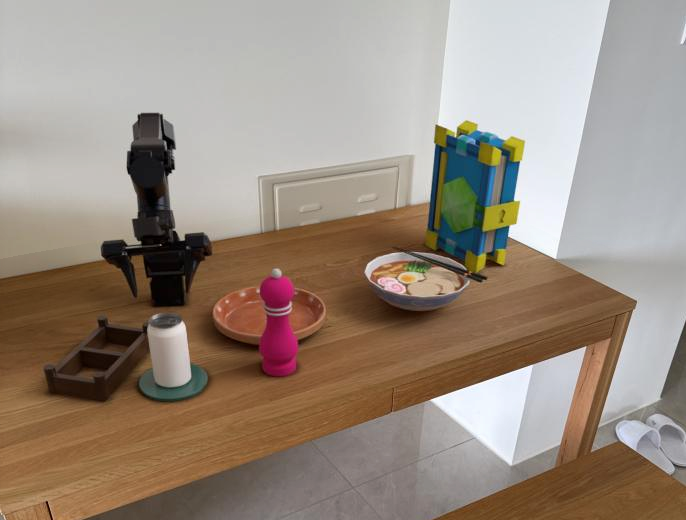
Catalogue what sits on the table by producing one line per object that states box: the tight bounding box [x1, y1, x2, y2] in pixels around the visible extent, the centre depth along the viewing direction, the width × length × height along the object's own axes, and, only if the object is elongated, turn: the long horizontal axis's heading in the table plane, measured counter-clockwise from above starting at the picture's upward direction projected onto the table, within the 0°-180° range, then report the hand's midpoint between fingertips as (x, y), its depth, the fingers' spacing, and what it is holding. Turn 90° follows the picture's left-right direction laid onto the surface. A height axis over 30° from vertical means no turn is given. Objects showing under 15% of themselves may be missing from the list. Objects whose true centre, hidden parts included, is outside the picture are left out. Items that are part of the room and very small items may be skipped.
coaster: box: [138, 363, 209, 402], centre depth 129 cm, size 12×12×1 cm
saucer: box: [212, 285, 327, 346], centre depth 147 cm, size 23×23×4 cm
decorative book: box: [424, 119, 526, 274], centre depth 173 cm, size 14×23×30 cm, turn 33°
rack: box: [43, 315, 150, 402], centre depth 131 cm, size 20×11×5 cm, turn 168°
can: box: [147, 312, 191, 388], centre depth 125 cm, size 6×6×12 cm
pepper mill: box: [258, 268, 299, 377], centre depth 129 cm, size 7×7×20 cm
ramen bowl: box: [364, 246, 488, 312], centre depth 156 cm, size 25×23×8 cm
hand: (161, 294), depth 128 cm, fingers open, 9 cm apart
